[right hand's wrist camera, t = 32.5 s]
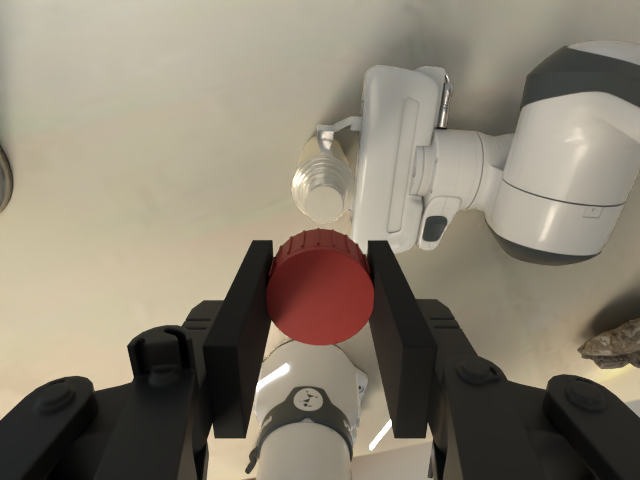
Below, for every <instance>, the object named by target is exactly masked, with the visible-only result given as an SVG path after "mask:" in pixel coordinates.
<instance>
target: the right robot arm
mask: <svg viewBox="0 0 640 480" xmlns="http://www.w3.org/2000/svg"><path fill="white" fill-rule="evenodd" d="M11 191H12V177H11V171H10V167H9V164H8V162H7V159H6V157H5V155H4V153H3V151H2V149H1V148H0V213H1V212H2V211H3V210H4V208H5V207H6V205H7V203H8V201H9V199H10V196H11ZM272 261H273V242H272V240H253V241H252V243H251V245H250V247H249V249H248V251H247V254H246V256H245V258H244V260H243V262H242V264H241V266H240V268H239V270H238V272H237V275H236V277H235V279H234V281H233V283H232V285H231V287H230V289H229V291H228V293H227V295H226V298H225V300H204V301H202V302H201V303H200V304H198V305H197V306H196V307H194V308H193V309H192V310H191V312H190V313H189V315H188V317H187V318H186V321H184V323H183V325H182V326H178V325H165V326H160V327H155V328H152V329H150V330H147V331H145V332H142V333H141V334H139V335H138V336H136V337H135V338H133V339H132V341H131V342H130V343H129V344H128V346H127V348H128V353H129V357H130V362H131V366H132V370H133V375H134V379H133V381H132V382H131V383H128V384H124V385H121V386H116V387H112V388H107V389H103V390H98V391H95V390H94V387H93V383H92V382H91V381H90V380H89V379H88V378H85V377H80V376H71V377H64V378H60V379H56V380H54V381H51V382H49V383H46V384H44V385H42V386H40V387H38V388H37V389H35V390H34V391H33V392H31V393H30V394H29V395H27V396H26V397H25V398H24V399H23V400H22V401H21V402H19V403H18V404H17V405H16V406H15V407H14V408H13V409H12V410H11V411H10V412H9V413H8V414H7V415H6V416H5V417H4V418H2V419H1V420H0V480H206V479H207V469H208V460H209V451H208V444H207V438H208V435H209V432H210V429H211V426H212V423H213V429H214V436H215V438H246V434H247V429H248V425H249V420H250V415H251V411H252V406H253V402H254V397H255V393H256V388H257V384H258V379H259V375H260V370H261V365H262V361H263V356H264V352H265V347H266V343H267V338H268V334H269V329H270V324H271V320H272V319H271V318H270V316H269V313H268V311H267V301H266V288H267V283H268V280H269V276H268V274H269V271H270V267H271V264H272ZM367 261H368V264H369V268H370V271H371V273H370V275H371V279H372V282H373V286H374V305H373V311H372V314H371V316H370V318H369V323H370V328H371V333H372V337H373V342H374V346H375V351H376V355H377V360H378V364H379V369H380V373H381V378H382V383H383V387H384V392H385V396H386V401H387V405H388V410H389V414H390V419H391V423H392V428H393V433H394V437H395V438H426V431H427V423H429V426H430V429H431V432H432V435H433V444H432V451H431V458H430V464H429V471H428V478H434V480H640V418H639V417H638V416H637V415H636V414H635V413H634V412H633V411H632V410H631V409H630V408H629V407H628V406H626V405H625V404H624V403H623V402H622V401H621V400H620V399H619V398H618V397H617V396H616V395H614V394H613V393H612V392H610V391H609V390H608V389H606V388H605V387H604V386H602V385H600V384H598V383H596V382H594V381H592V380H589V379H586V378H583V377H579V376H576V375H565V374H562V375H558V376H553V377H552V378H551V379H550V380H549V381H548V384H547V388H546V390H545V389H540V388H536V387H531V386H526V385H522V384H518V383H515V382H511V381H508V380H507V378H506V376H505V375H504V373H503V372H502V370H501V369H500V368H499V367H497V366H496V365H495V364H494V363H492V362H490V361H488V360H486V359H484V358H482V357H478V355H477V354H476V352H475V350H474V349H473V347H472V345H471V344H470V342H469V341H468V339H467V337H466V336H465V334H464V332H463V331H462V329H460V326H459V324H458V323H457V321H456V320H455V318H454V316H453V315H452V313H451V311H450V310H449V308H448V307H446V306H445V305H444V304H442V303H441V302H440V301H438V300H437V299H415V297H414V295H413V293H412V291H411V289H410V287H409V284H408V282H407V280H406V278H405V276H404V274H403V272H402V270H401V268H400V266H399V264H398V261H397V259H396V257H395V255H394V253H393V251H392V249H391V247H390V245H389V243H388V241H387V240H368V247H367Z"/></svg>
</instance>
